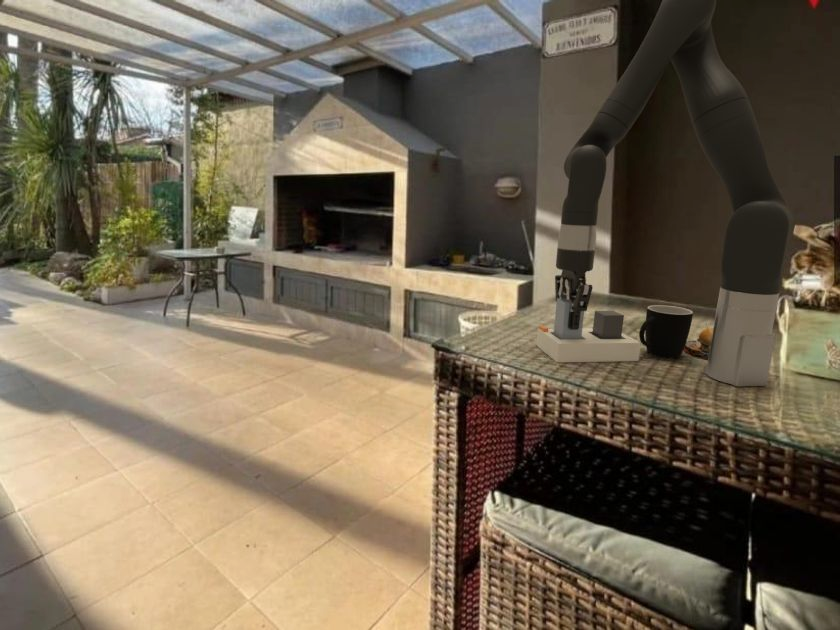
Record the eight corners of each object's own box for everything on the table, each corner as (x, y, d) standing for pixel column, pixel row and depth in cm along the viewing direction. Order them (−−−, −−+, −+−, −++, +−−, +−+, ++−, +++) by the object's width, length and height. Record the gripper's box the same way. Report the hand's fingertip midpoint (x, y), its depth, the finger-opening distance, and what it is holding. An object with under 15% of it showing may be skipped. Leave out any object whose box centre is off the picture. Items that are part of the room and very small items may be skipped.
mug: (661, 346, 115) (668, 304, 113) (695, 358, 107) (703, 312, 105) (622, 351, 111) (627, 307, 108) (654, 363, 103) (660, 316, 100)
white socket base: (638, 361, 104) (644, 319, 102) (556, 362, 102) (560, 320, 100) (610, 344, 116) (614, 307, 114) (536, 345, 113) (539, 307, 111)
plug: (581, 339, 106) (585, 302, 104) (561, 339, 105) (565, 302, 103) (572, 333, 110) (576, 298, 108) (553, 333, 109) (557, 298, 108)
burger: (753, 365, 104) (759, 331, 102) (692, 361, 106) (697, 327, 104) (730, 349, 115) (735, 318, 114) (675, 345, 118) (680, 314, 116)
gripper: (610, 250, 97) (600, 335, 101) (578, 243, 110) (571, 318, 114) (573, 250, 96) (564, 335, 100) (546, 243, 109) (539, 318, 113)
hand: (568, 325), depth 107 cm, fingers closed on plug, 4 cm apart
